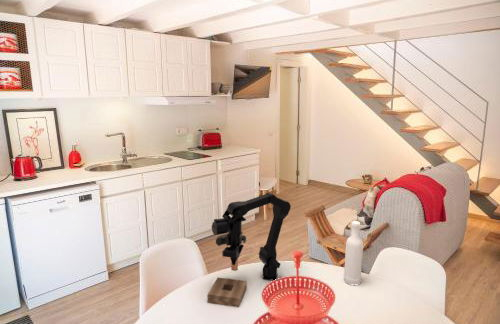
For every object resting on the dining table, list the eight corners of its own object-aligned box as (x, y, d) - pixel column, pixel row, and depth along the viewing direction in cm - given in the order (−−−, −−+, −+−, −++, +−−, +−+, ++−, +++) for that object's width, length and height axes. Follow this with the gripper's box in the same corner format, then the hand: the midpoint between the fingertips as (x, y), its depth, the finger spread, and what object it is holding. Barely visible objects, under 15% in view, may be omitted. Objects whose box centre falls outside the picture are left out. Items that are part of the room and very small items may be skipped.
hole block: (246, 288, 153) (246, 281, 152) (239, 307, 139) (239, 298, 139) (217, 285, 156) (217, 277, 155) (207, 302, 142) (207, 294, 142)
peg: (238, 268, 153) (238, 247, 151) (236, 271, 150) (237, 250, 148) (232, 267, 154) (232, 247, 152) (230, 270, 151) (230, 249, 149)
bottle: (341, 282, 159) (345, 223, 153) (346, 275, 165) (349, 218, 160) (358, 287, 154) (362, 226, 149) (362, 279, 161) (366, 221, 155)
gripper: (224, 221, 159) (224, 252, 162) (210, 236, 142) (210, 270, 144) (246, 224, 157) (246, 255, 160) (235, 239, 139) (235, 274, 142)
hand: (234, 263), depth 151 cm, fingers closed on peg, 3 cm apart
